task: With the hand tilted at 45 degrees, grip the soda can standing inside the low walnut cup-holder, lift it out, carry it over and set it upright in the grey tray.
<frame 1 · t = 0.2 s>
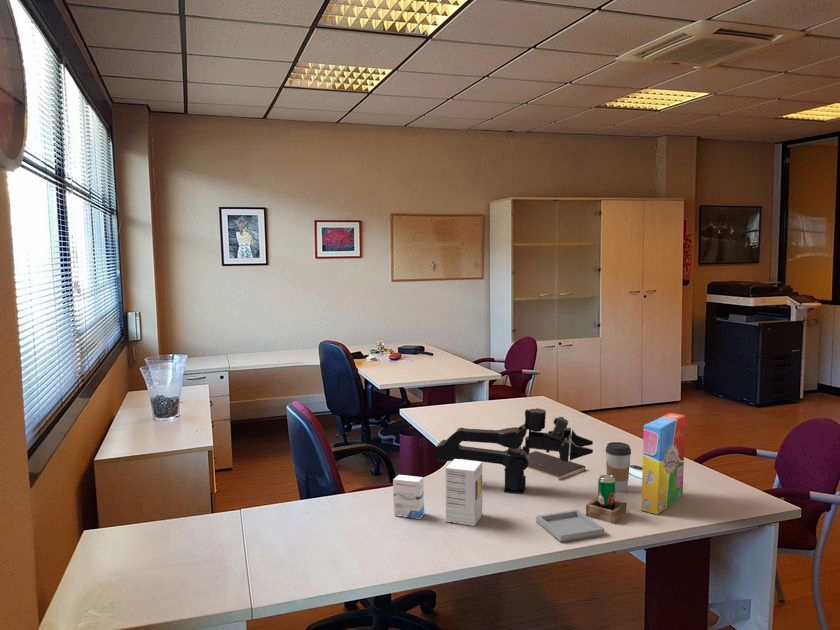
hand: (592, 447, 206), 17 cm above the table, tool horizontal, fingers open, 9 cm apart
soda can: (606, 515, 193), resting in walnut cup-holder
supplement box: (464, 518, 192), on the table
grey tray: (569, 528, 184), on the table
walnut cup-holder: (606, 514, 193), on the table
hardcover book: (546, 468, 236), on the table
game box: (662, 503, 201), on the table
ink box: (409, 515, 194), on the table
coffee cup: (617, 489, 214), on the table
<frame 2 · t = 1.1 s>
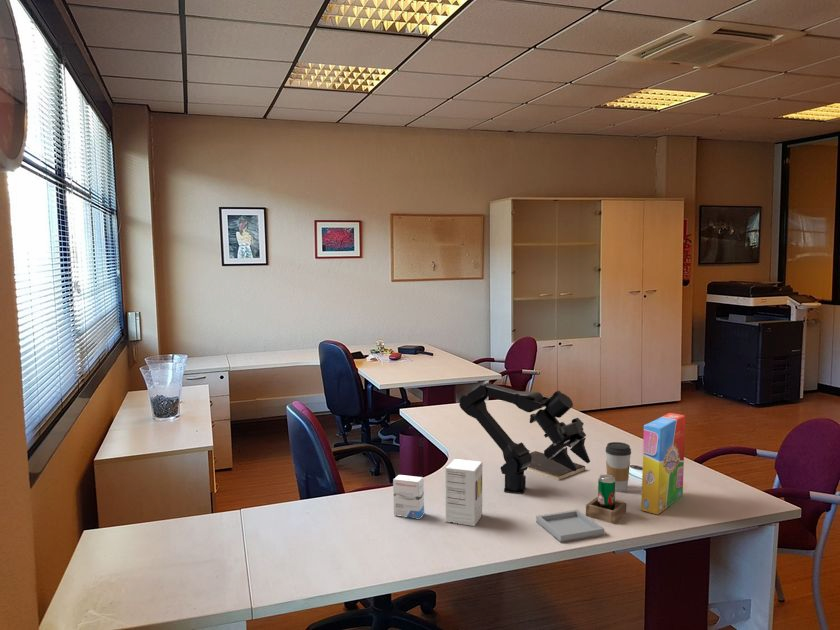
hand: (582, 466, 196), 14 cm above the table, tool tilted 45°, fingers open, 9 cm apart
nothing on the table moved.
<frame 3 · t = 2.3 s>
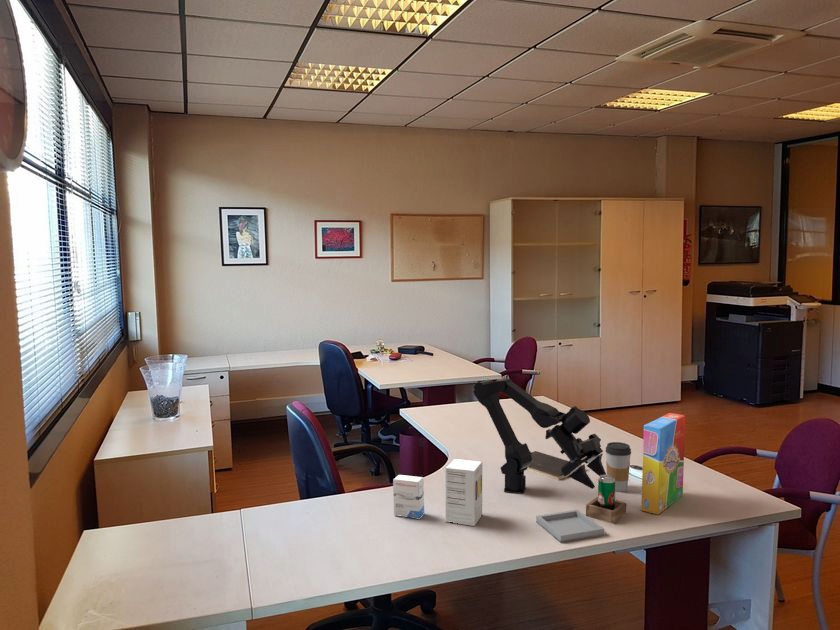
hand: (600, 483, 193), 9 cm above the table, tool tilted 45°, fingers open, 9 cm apart
nothing on the table moved.
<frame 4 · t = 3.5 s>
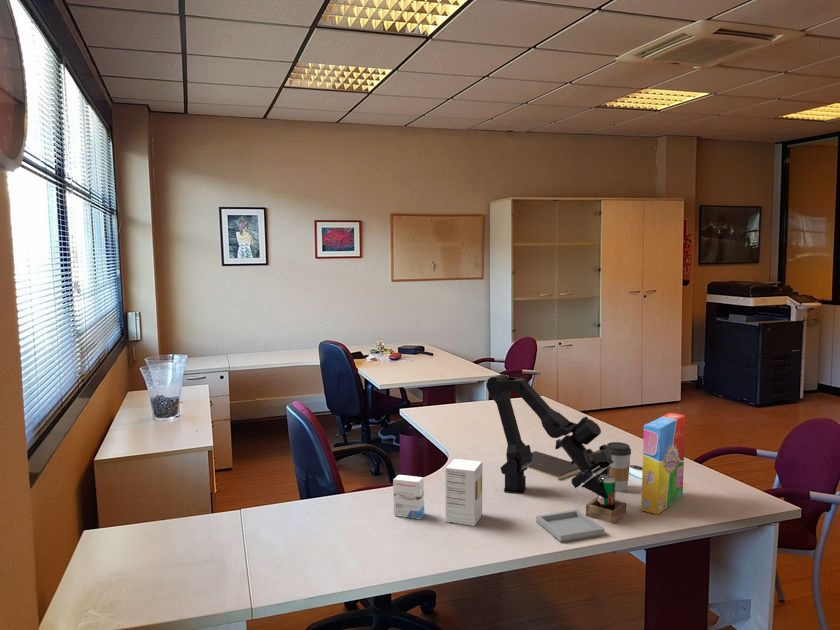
hand: (610, 495, 191), 7 cm above the table, tool tilted 45°, fingers closed on soda can, 5 cm apart
soda can: (606, 515, 193), resting in walnut cup-holder, touching gripper
everything else where it was.
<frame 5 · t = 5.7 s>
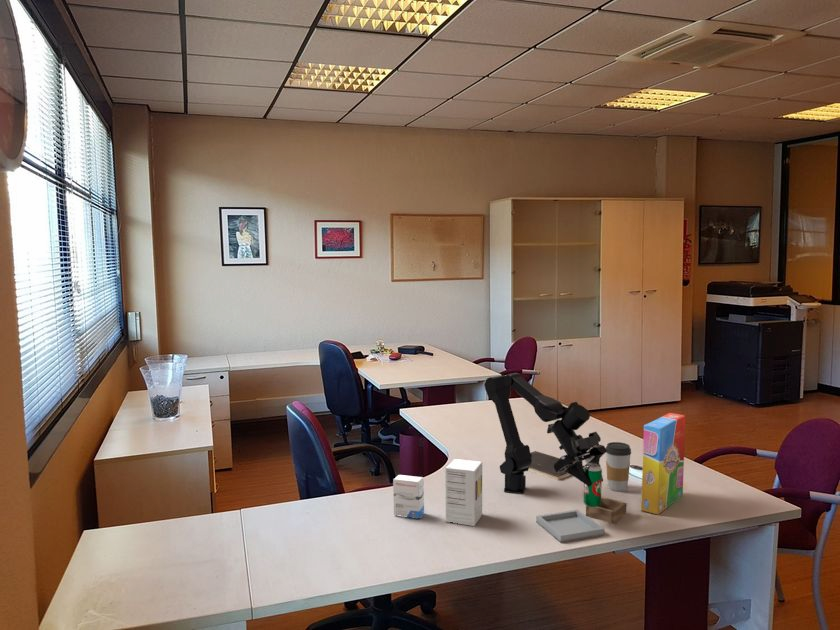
hand: (596, 483, 185), 12 cm above the table, tool tilted 45°, fingers closed on soda can, 5 cm apart
soda can: (592, 504, 187), point 5 cm above the table, touching gripper
everything else where it was.
when the fingers open (8 cm above the table, at t = 7.7 s): soda can stays where it is, resting on grey tray.
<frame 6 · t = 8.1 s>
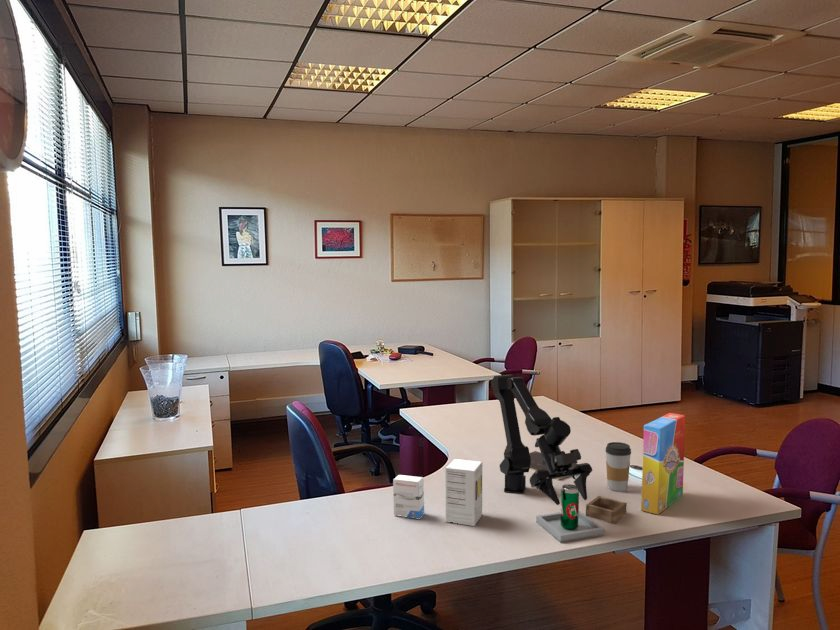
hand: (572, 502, 181), 9 cm above the table, tool tilted 45°, fingers open, 9 cm apart
soda can: (569, 527, 184), resting on grey tray
everything else where it was.
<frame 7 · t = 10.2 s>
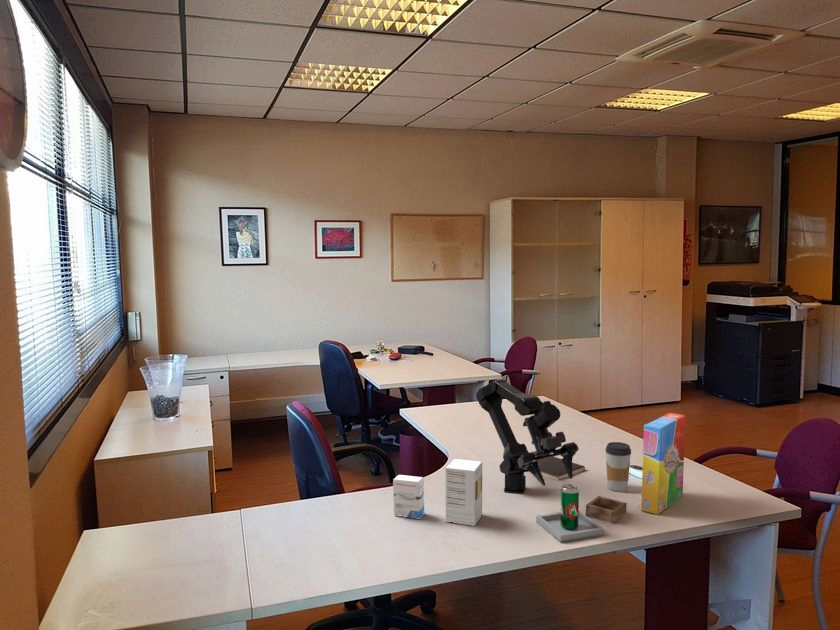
hand: (558, 481, 191), 11 cm above the table, tool tilted 35°, fingers open, 9 cm apart
nothing on the table moved.
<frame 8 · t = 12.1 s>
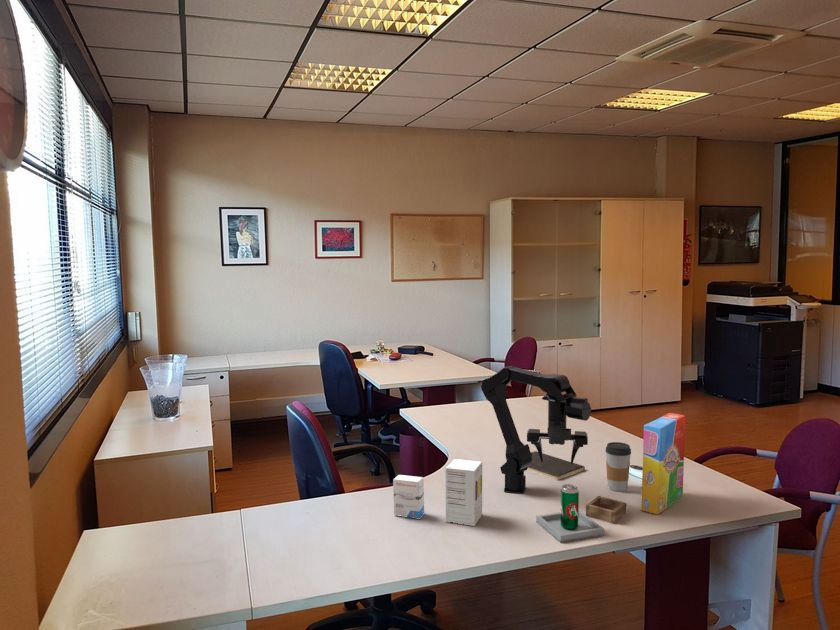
hand: (556, 462, 202), 13 cm above the table, tool pointing down, fingers open, 9 cm apart
nothing on the table moved.
at the end: soda can inside the target area on the grey tray (0.1 cm from its centre), point 0.3 cm above the grey tray's base; soda can tilted 0°; the gripper is holding nothing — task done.
